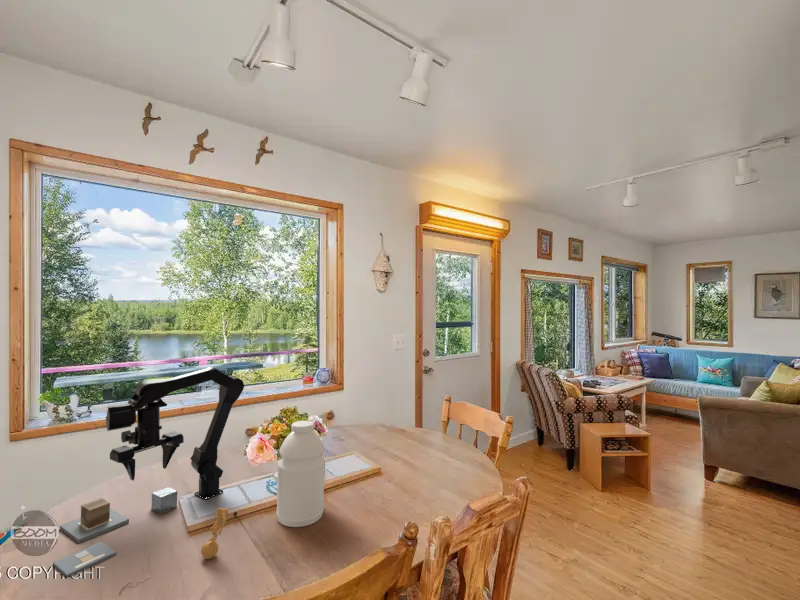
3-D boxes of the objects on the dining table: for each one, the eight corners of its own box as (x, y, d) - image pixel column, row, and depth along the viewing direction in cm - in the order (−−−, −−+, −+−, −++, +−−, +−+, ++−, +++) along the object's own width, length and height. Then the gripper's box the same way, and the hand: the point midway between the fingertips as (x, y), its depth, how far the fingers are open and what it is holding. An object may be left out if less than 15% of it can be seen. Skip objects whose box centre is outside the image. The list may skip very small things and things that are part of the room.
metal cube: (176, 506, 124) (177, 490, 124) (160, 514, 120) (161, 497, 120) (167, 502, 127) (168, 486, 127) (151, 509, 123) (151, 493, 123)
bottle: (274, 508, 125) (276, 419, 125) (318, 500, 130) (320, 415, 131) (279, 532, 112) (282, 432, 112) (327, 523, 117) (330, 427, 118)
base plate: (128, 522, 115) (128, 518, 115) (78, 543, 105) (78, 539, 105) (108, 510, 121) (109, 506, 121) (59, 529, 111) (59, 525, 111)
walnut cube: (109, 520, 114) (109, 502, 114) (88, 528, 109) (89, 510, 110) (101, 515, 116) (101, 498, 116) (80, 523, 112) (81, 505, 112)
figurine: (198, 551, 102) (199, 505, 103) (223, 544, 106) (224, 498, 106) (203, 569, 96) (205, 519, 96) (230, 560, 99) (231, 512, 99)
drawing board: (115, 554, 100) (115, 551, 100) (67, 577, 92) (67, 574, 92) (100, 543, 105) (100, 541, 105) (52, 564, 96) (53, 561, 96)
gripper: (165, 411, 133) (165, 457, 133) (100, 427, 117) (100, 479, 117) (184, 416, 127) (184, 465, 127) (119, 434, 111) (119, 489, 111)
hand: (148, 474), depth 121 cm, fingers open, 9 cm apart
